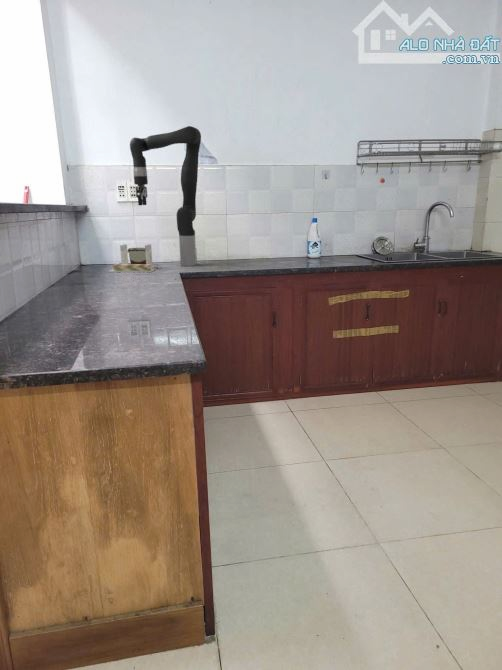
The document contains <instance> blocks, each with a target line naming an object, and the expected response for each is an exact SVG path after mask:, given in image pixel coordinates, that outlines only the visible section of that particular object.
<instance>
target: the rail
mask: <svg viewBox="0 0 502 670" xmlns="http://www.w3.org/2000/svg"><path fill="white" fill-rule="evenodd" d="M112 269H113V271H150V270H151V265H150V264H131V263H128V264H122V263H119V264H116V263H115V264H113V265H112Z"/></svg>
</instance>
